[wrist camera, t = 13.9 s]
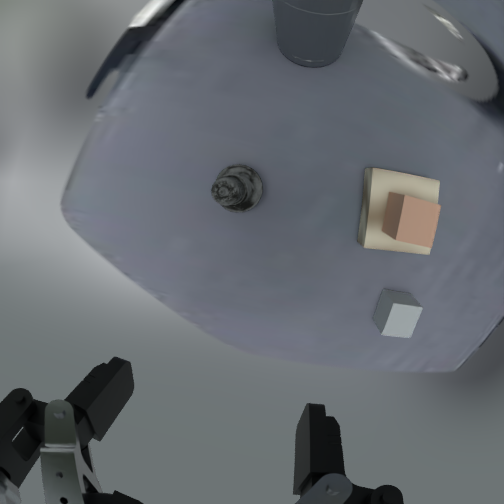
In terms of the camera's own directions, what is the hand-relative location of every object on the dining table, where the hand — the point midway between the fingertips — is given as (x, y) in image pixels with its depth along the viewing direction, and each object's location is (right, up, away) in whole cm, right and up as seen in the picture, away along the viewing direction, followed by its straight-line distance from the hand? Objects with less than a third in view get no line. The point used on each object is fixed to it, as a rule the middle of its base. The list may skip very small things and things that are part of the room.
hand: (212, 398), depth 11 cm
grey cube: (+23, -2, +27) cm, 36 cm away
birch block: (+21, +12, +24) cm, 34 cm away
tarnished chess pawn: (+1, +15, +25) cm, 30 cm away
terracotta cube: (+21, +11, +20) cm, 31 cm away
